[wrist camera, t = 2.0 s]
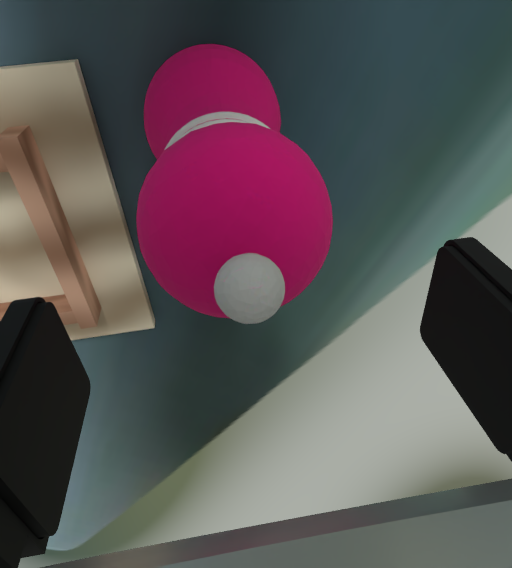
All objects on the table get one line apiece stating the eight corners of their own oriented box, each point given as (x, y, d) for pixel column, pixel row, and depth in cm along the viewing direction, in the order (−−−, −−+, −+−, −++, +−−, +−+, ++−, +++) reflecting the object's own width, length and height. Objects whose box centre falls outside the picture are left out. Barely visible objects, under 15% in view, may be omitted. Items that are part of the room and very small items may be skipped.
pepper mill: (205, 180, 28) (235, 438, 12) (123, 94, 24) (13, 312, 8) (288, 109, 26) (450, 310, 10) (213, 3, 22) (292, 66, 6)
